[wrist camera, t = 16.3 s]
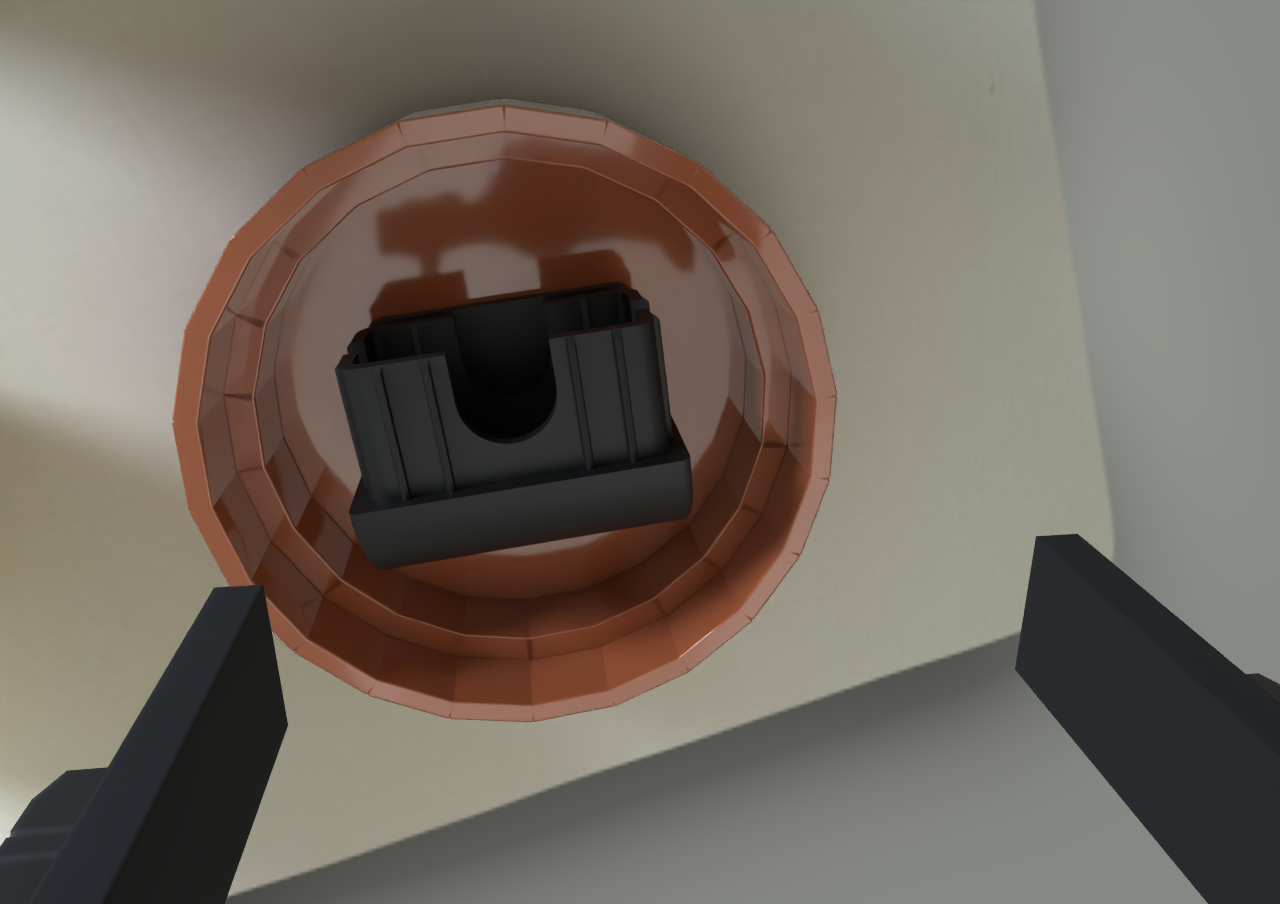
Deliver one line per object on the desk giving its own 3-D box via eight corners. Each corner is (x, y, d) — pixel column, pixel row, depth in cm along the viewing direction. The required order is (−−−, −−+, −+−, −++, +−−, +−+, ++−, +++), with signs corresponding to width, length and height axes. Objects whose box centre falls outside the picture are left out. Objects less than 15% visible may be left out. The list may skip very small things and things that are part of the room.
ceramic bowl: (800, 96, 32) (861, 103, 26) (769, 611, 39) (813, 700, 34) (185, 98, 30) (111, 105, 24) (274, 644, 37) (232, 746, 31)
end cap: (395, 511, 35) (371, 608, 29) (349, 321, 32) (311, 382, 26) (668, 466, 36) (702, 551, 29) (644, 276, 33) (677, 325, 27)
